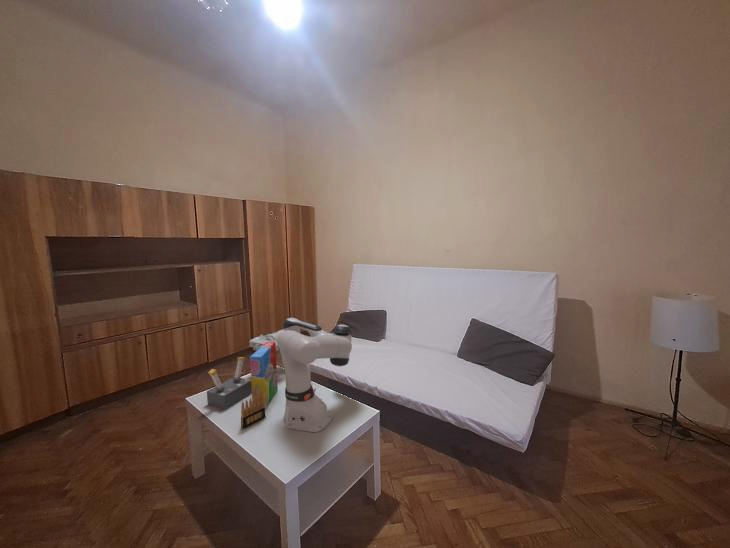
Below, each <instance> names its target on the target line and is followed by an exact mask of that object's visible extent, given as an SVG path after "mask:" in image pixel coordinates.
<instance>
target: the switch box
mask: <svg viewBox="0 0 730 548" xmlns="http://www.w3.org/2000/svg"><path fill="white" fill-rule="evenodd" d="M221 383H222V385H223V386H224V387H225V389H224V390H223V391H220V390H216V386H213V387H212V388H210V389H208V390H207V391H206V398H207V399H206V401H207V405H208V404H209V405H208V406H211V405H212V407H215V408H217V409H221V410H224V411H226V410H227V409H229V408H231V407H232V406H234V405H236V404H237V403H239V402H241V401H242V400H243V399H245V398H246V397H249V395H252V387H251V379H247V378H243V377H241V380H240V382H237V381H233V377H231V378H229V379H227V380H225V381H224V382H221Z"/></svg>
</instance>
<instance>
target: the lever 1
mask: <svg viewBox="0 0 730 548" xmlns="http://www.w3.org/2000/svg"><path fill="white" fill-rule="evenodd" d="M207 373H208V375H209V376H210V377H211V378H212V381H213V382H214V385H215V387H216V390H220V391H223V390H224V389H225V387H224V386H223V385H222V383H223V382H221V380H220V377H219V376H218V371H217V369H214V368H211V369H210V370H209V371H208V372H207Z"/></svg>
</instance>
